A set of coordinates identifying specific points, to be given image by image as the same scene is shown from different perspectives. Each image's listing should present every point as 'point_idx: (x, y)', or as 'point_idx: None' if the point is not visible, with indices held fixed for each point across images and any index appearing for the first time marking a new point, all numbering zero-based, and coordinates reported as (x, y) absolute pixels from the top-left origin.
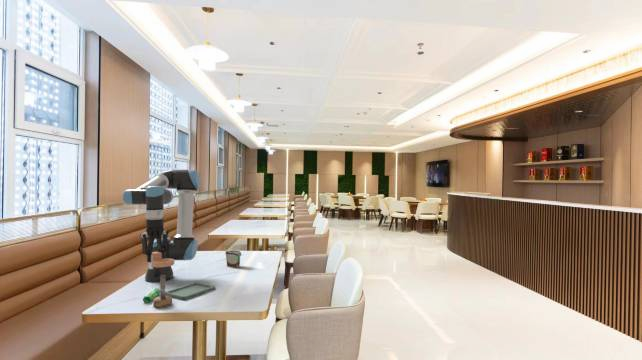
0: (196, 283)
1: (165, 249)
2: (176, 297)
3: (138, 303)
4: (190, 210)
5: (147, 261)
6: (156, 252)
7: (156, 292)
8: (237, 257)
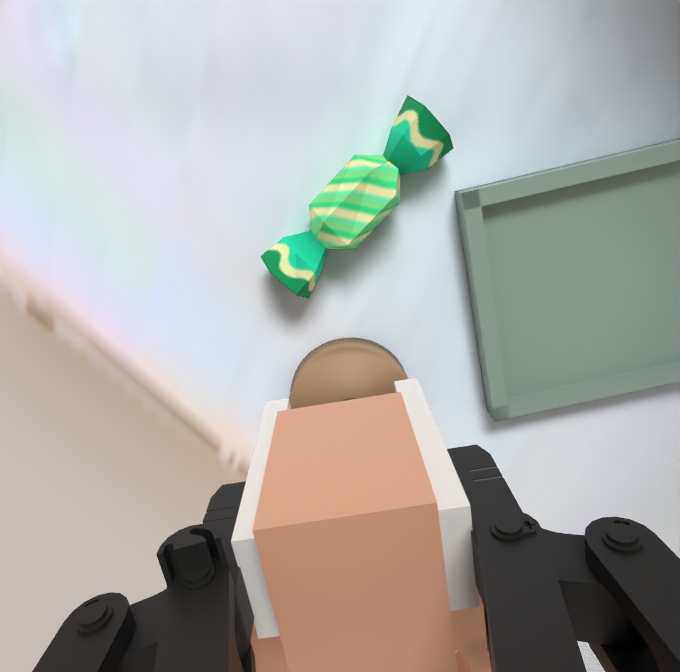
0: None
1: (613, 657)
2: (478, 339)
3: (237, 237)
4: None
5: (218, 501)
6: (390, 610)
7: (396, 199)
8: None
